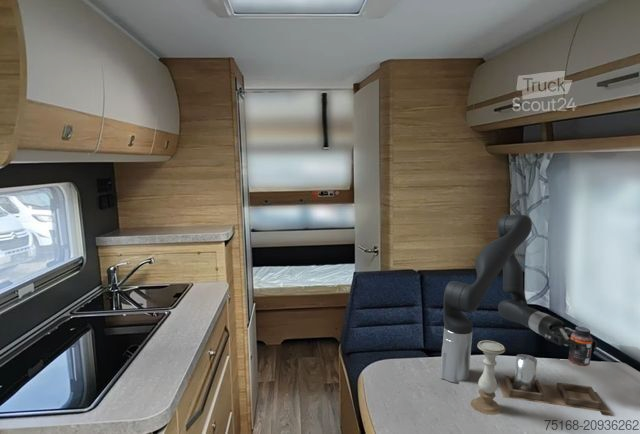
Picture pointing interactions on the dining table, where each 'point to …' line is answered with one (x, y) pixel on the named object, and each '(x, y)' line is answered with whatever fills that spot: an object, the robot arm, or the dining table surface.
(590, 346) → the supplement bottle
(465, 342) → the robot arm
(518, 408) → the dining table surface
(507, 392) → the wooden divided tray
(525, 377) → the can
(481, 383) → the candle holder
